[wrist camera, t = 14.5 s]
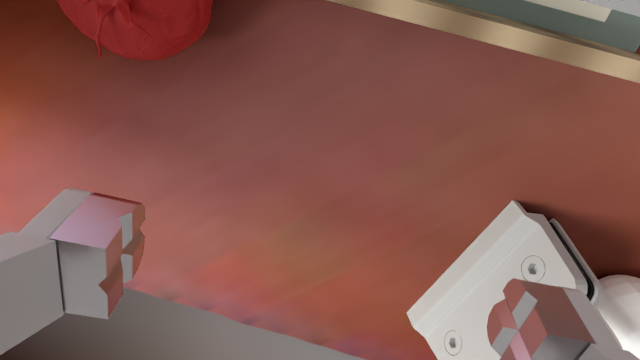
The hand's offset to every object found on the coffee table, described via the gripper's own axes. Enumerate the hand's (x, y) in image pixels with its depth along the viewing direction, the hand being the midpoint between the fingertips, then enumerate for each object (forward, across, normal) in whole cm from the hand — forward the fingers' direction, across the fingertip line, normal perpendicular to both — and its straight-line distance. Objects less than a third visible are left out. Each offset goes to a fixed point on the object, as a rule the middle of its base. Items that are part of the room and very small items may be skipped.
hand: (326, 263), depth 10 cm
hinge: (+25, -19, +19) cm, 37 cm away
